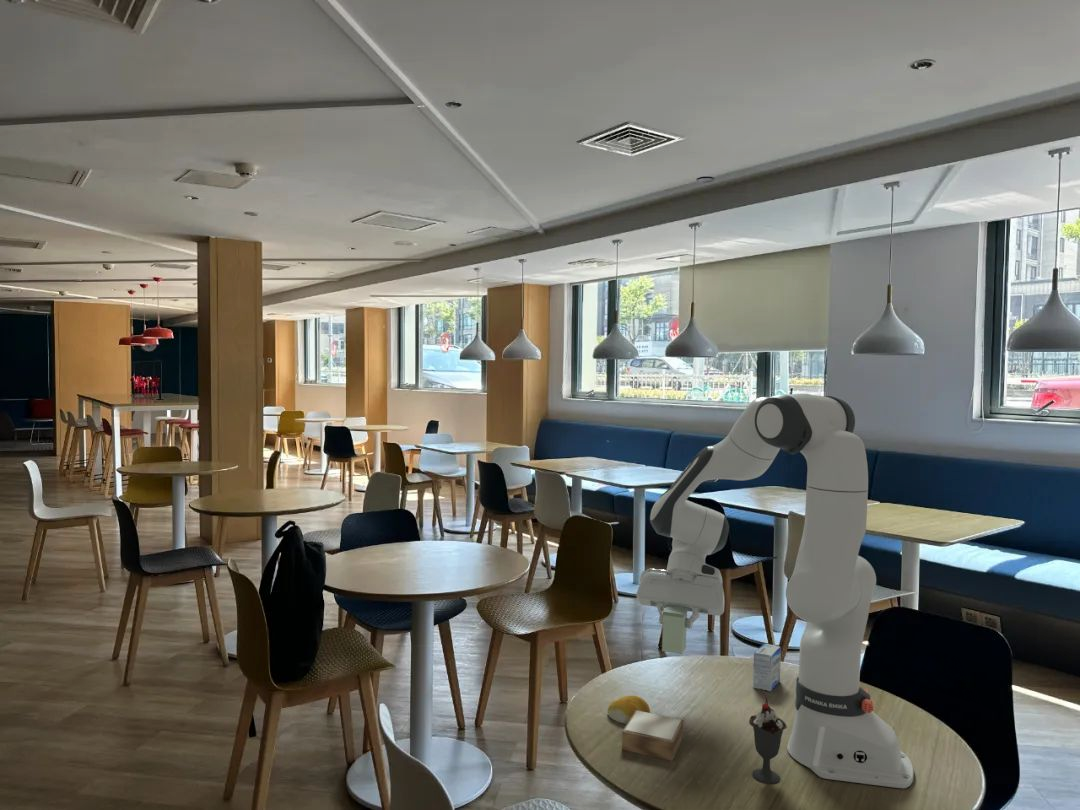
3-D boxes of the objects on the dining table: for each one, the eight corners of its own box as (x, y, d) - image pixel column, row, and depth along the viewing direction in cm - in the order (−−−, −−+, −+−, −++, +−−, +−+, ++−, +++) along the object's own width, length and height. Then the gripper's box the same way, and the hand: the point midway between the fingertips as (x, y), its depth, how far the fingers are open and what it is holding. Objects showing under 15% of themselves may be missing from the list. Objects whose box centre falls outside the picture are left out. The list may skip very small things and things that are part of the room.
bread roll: (656, 715, 159) (656, 697, 159) (631, 729, 153) (632, 710, 153) (625, 703, 165) (626, 685, 165) (600, 716, 158) (601, 697, 158)
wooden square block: (682, 739, 149) (683, 719, 149) (672, 762, 140) (672, 741, 140) (635, 728, 153) (636, 709, 153) (621, 751, 144) (622, 730, 144)
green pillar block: (686, 647, 168) (687, 608, 168) (682, 654, 164) (683, 614, 163) (666, 644, 170) (667, 605, 169) (661, 651, 166) (662, 611, 165)
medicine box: (771, 692, 172) (772, 656, 172) (752, 687, 174) (753, 652, 174) (780, 681, 179) (781, 646, 178) (761, 677, 181) (763, 642, 181)
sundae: (758, 762, 140) (761, 685, 139) (791, 777, 135) (794, 697, 135) (740, 775, 136) (742, 695, 135) (772, 790, 131) (776, 708, 130)
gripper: (640, 560, 177) (628, 612, 169) (726, 570, 170) (718, 625, 161) (644, 574, 182) (633, 625, 173) (728, 584, 174) (721, 638, 165)
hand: (675, 625), depth 167 cm, fingers closed on green pillar block, 4 cm apart
